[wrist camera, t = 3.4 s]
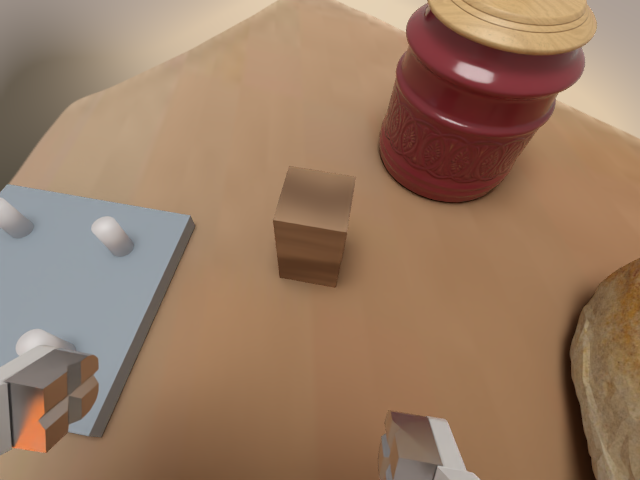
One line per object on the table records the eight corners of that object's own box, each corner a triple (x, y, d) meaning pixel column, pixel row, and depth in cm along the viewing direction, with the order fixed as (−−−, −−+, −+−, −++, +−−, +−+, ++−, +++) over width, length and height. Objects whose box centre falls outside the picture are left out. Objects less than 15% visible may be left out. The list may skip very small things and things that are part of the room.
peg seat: (101, 437, 21) (57, 433, 17) (-139, 387, 22) (-232, 373, 18) (195, 225, 30) (179, 192, 26) (19, 195, 30) (-21, 158, 26)
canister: (367, 115, 38) (411, -101, 23) (479, 114, 39) (588, -94, 24) (389, 208, 32) (469, -12, 17) (522, 204, 33) (711, -7, 18)
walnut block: (335, 287, 27) (347, 232, 20) (279, 277, 27) (273, 220, 21) (343, 240, 30) (355, 176, 23) (291, 231, 30) (289, 166, 23)
